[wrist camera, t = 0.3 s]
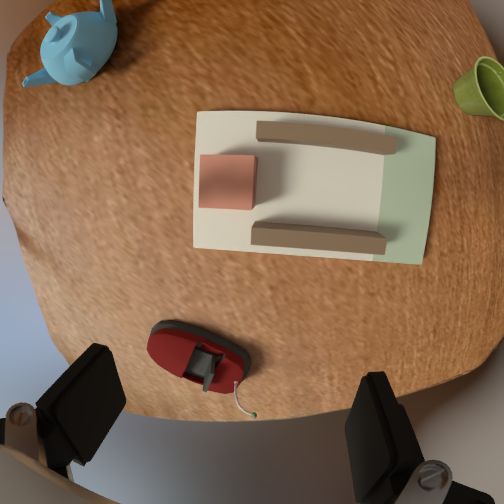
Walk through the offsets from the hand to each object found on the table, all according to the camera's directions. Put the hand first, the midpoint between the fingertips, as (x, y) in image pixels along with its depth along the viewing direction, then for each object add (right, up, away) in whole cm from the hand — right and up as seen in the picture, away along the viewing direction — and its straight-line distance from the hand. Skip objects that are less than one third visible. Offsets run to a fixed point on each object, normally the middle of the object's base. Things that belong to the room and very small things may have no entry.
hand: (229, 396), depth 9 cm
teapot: (-27, +40, +23) cm, 53 cm away
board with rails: (+10, +14, +26) cm, 31 cm away
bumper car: (-7, -12, +36) cm, 38 cm away
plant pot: (+34, +29, +19) cm, 49 cm away
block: (-2, +14, +25) cm, 29 cm away
